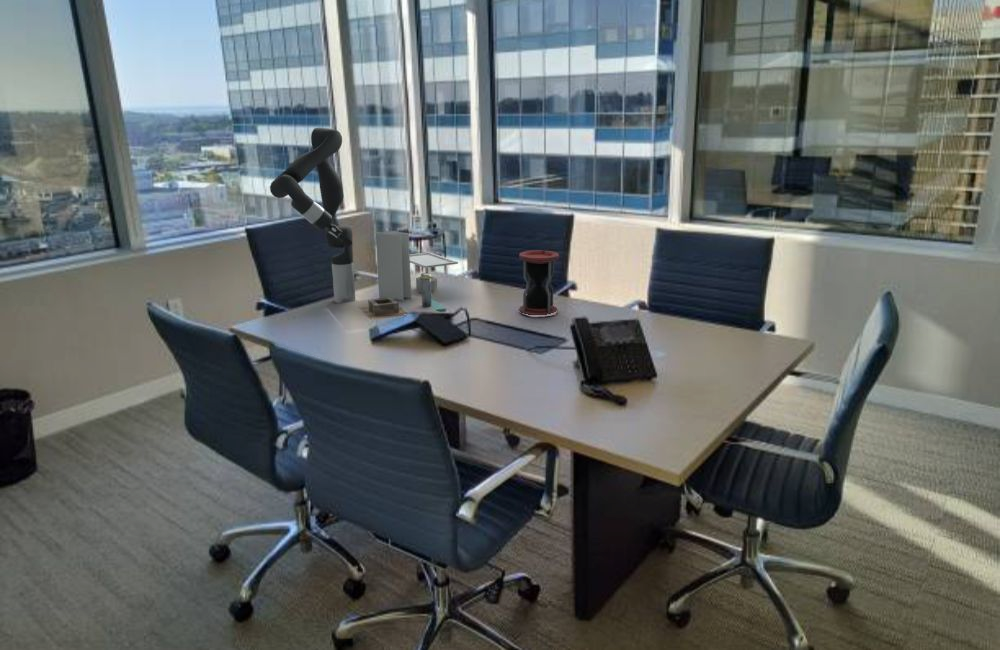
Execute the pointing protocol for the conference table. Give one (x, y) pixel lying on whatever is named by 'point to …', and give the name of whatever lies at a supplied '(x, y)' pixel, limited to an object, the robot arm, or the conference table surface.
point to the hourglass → (538, 282)
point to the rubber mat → (437, 306)
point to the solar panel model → (429, 266)
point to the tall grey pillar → (393, 265)
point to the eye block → (383, 308)
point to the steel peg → (426, 289)
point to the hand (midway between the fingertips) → (348, 242)
